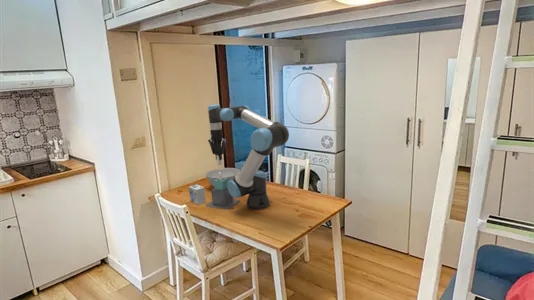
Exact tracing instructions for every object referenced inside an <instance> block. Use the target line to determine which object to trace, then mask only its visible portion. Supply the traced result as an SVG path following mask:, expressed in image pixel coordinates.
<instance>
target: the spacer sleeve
mask: <svg viewBox="0 0 534 300" xmlns="http://www.w3.org/2000/svg"><path fill="white" fill-rule="evenodd" d="M227 183H228V178H223V181H219V178H218V179H216V180H214V185H215V187H214V188H215V189H216V190H225V189H226V188H227Z"/></svg>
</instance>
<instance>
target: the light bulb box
mask: <svg viewBox="0 0 534 300" xmlns="http://www.w3.org/2000/svg"><path fill="white" fill-rule="evenodd" d="M188 191H189V199H190V202H192V203H193V202H194V204H195V205H197V204H198V205H200V204H204V203H206V202H207V201H206V200H207V199H206V193H205V191H206V190H205V187H204V186H202V185H199V184H194V185H190V186H188Z"/></svg>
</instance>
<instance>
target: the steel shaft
mask: <svg viewBox="0 0 534 300" xmlns="http://www.w3.org/2000/svg"><path fill="white" fill-rule="evenodd" d="M218 173H219V181H223V177H222V171H219V172H218Z"/></svg>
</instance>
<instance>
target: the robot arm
mask: <svg viewBox="0 0 534 300" xmlns="http://www.w3.org/2000/svg"><path fill="white" fill-rule="evenodd" d="M207 109H208V110H207V112H208V120H209V121H208V122H209V129H210V130H209V131H210V132H209V133H210V138H209V139H208V140H207V142H208V144H209V146H210V150H211V153H212V155H215V160H216V164H217V166H222V163H223V162H222V160H223V155H224V154H225V151H226V150H225V149H226V142H227V139H225V138H224V135H223V128H222V127H223V126H222V124H223V123H222V121H224V122H230V121H232V120H242V121H243V122H245V123H248V125H250V126H253V127H255V128H256V130H254V131H253V132H252V134H251V137H250V145H251V148H252V149H251V151H250V152H249V154H248V155H247V158H246V160H245V162H244V164H243V166H242V168H241V169H240V172H238V173H237V174H236V175H235V177H234V179H232V180H229V181H228V183H227V188H228V191H229V193H230V195H231V196H232V197H233V199H238V198H241V197H244V196H246V195H248V196H247V200H246V207H247V208H248V209H250V210H257V211H258V210H264V209H266V208H268V207H270V206H271V201H270V199H269V196H268V193H267V178H266V172H265V171H262V170H259V168H260V167H261V165H262V163H263V162H264V160H265V158H267V157H268V156H269V155H270V154H271V153H272V152H273V150H274V149H275V148H278V147H282V146H284V145H285V144H286V143H288V140H289V138H290V131H289V129H288V128H287V126H285V125H284V124H283V123H281V122H279V121H272V120H271V119H268V118H266V117H265V116H262V115H260V114H258V113H256V112H254V111H252V110H251V109H250V107H249V106H248V105H239V106H232V107H222V108H221V105H220V104H217V103H216V104H210V105H208V106H207Z"/></svg>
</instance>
